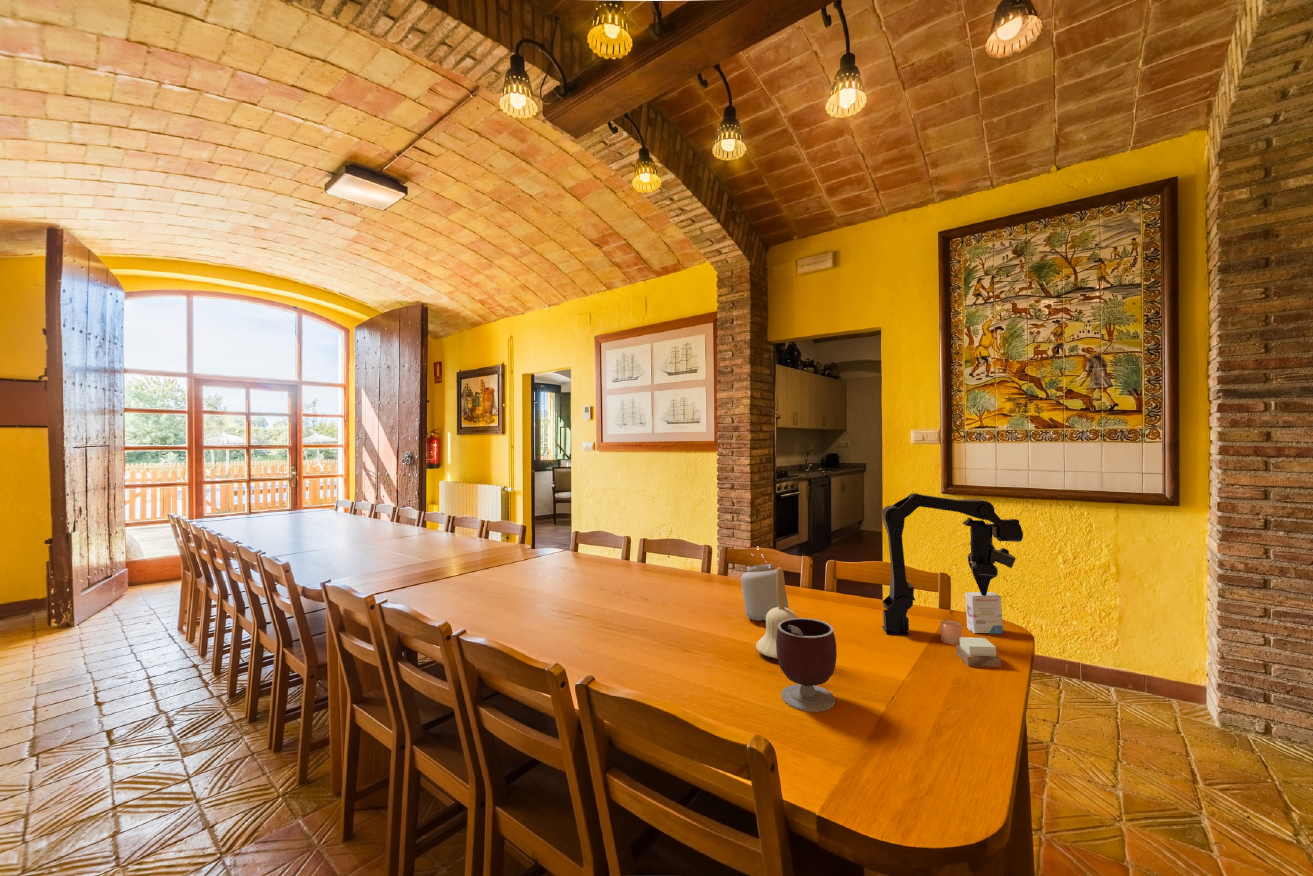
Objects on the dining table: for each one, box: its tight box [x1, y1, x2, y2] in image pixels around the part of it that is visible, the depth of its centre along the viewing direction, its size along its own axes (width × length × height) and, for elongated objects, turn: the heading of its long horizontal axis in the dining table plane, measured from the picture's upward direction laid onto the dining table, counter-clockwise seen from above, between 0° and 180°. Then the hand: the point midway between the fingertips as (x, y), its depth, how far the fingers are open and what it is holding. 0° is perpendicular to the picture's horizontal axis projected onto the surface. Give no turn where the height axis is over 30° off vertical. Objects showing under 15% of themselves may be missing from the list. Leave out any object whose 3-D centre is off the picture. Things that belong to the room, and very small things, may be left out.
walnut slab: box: [955, 645, 1002, 668], centre depth 141 cm, size 8×8×3 cm
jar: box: [740, 545, 790, 621], centre depth 181 cm, size 19×15×25 cm
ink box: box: [964, 591, 1004, 635], centre depth 162 cm, size 9×5×12 cm, turn 84°
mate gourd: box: [776, 617, 838, 713], centre depth 123 cm, size 16×14×20 cm
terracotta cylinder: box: [940, 619, 963, 646], centre depth 155 cm, size 6×6×6 cm
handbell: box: [755, 566, 798, 659], centre depth 150 cm, size 15×15×25 cm
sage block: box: [960, 636, 997, 656], centre depth 141 cm, size 6×6×2 cm
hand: (982, 591), depth 158 cm, fingers open, 9 cm apart
